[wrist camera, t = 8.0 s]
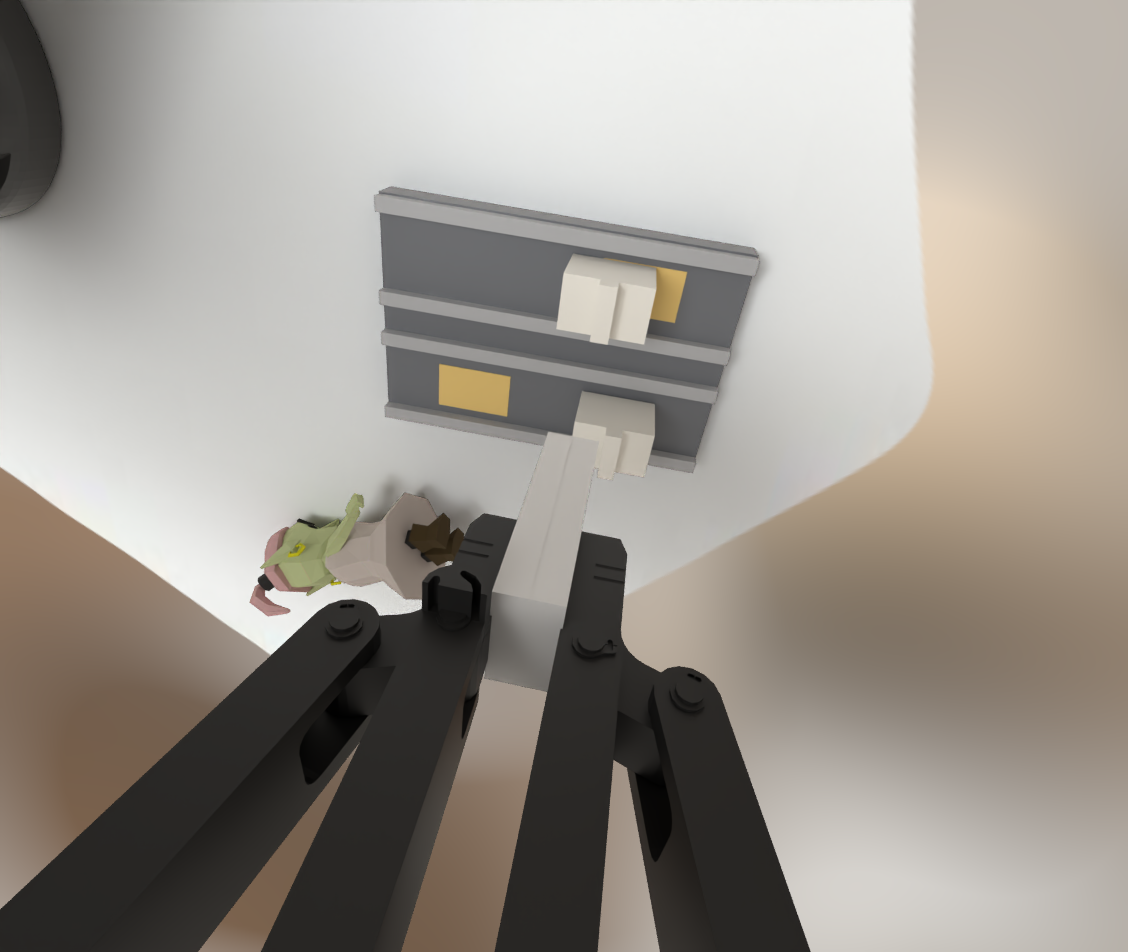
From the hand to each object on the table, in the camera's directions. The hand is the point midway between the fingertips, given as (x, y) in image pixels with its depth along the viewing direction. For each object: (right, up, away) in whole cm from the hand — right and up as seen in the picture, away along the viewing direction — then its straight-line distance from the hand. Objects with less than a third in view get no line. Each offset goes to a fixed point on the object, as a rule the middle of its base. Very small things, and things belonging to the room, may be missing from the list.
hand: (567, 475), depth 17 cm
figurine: (-14, -3, +24) cm, 28 cm away
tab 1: (+2, +9, +11) cm, 14 cm away
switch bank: (-1, +8, +14) cm, 16 cm away
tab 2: (+3, +3, +15) cm, 15 cm away
